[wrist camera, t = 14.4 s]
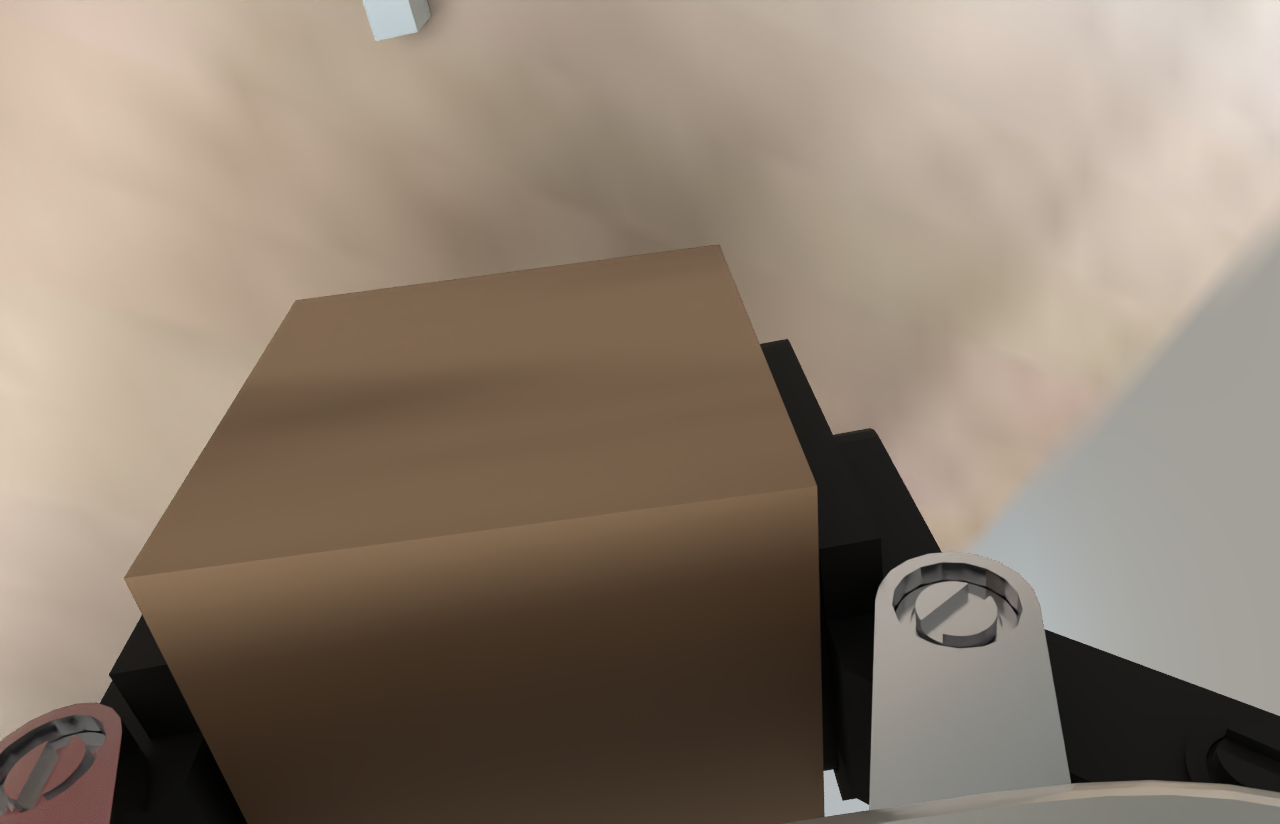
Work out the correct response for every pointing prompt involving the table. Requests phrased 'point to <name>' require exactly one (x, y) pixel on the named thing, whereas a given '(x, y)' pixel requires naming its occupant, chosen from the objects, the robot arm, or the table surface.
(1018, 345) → the table surface
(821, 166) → the table surface
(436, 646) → the walnut block
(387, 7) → the grey open frame
